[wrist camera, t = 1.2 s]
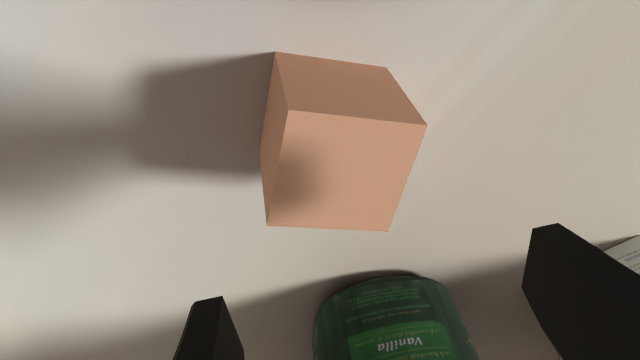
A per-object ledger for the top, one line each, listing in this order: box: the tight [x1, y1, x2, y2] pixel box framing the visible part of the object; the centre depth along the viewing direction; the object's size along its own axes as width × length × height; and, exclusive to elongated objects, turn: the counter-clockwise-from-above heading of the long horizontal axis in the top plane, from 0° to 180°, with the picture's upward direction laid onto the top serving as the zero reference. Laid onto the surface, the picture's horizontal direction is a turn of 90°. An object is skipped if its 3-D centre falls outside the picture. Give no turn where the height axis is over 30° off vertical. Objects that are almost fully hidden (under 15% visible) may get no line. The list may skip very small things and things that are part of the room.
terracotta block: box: [259, 52, 427, 232], centre depth 16 cm, size 4×4×4 cm
